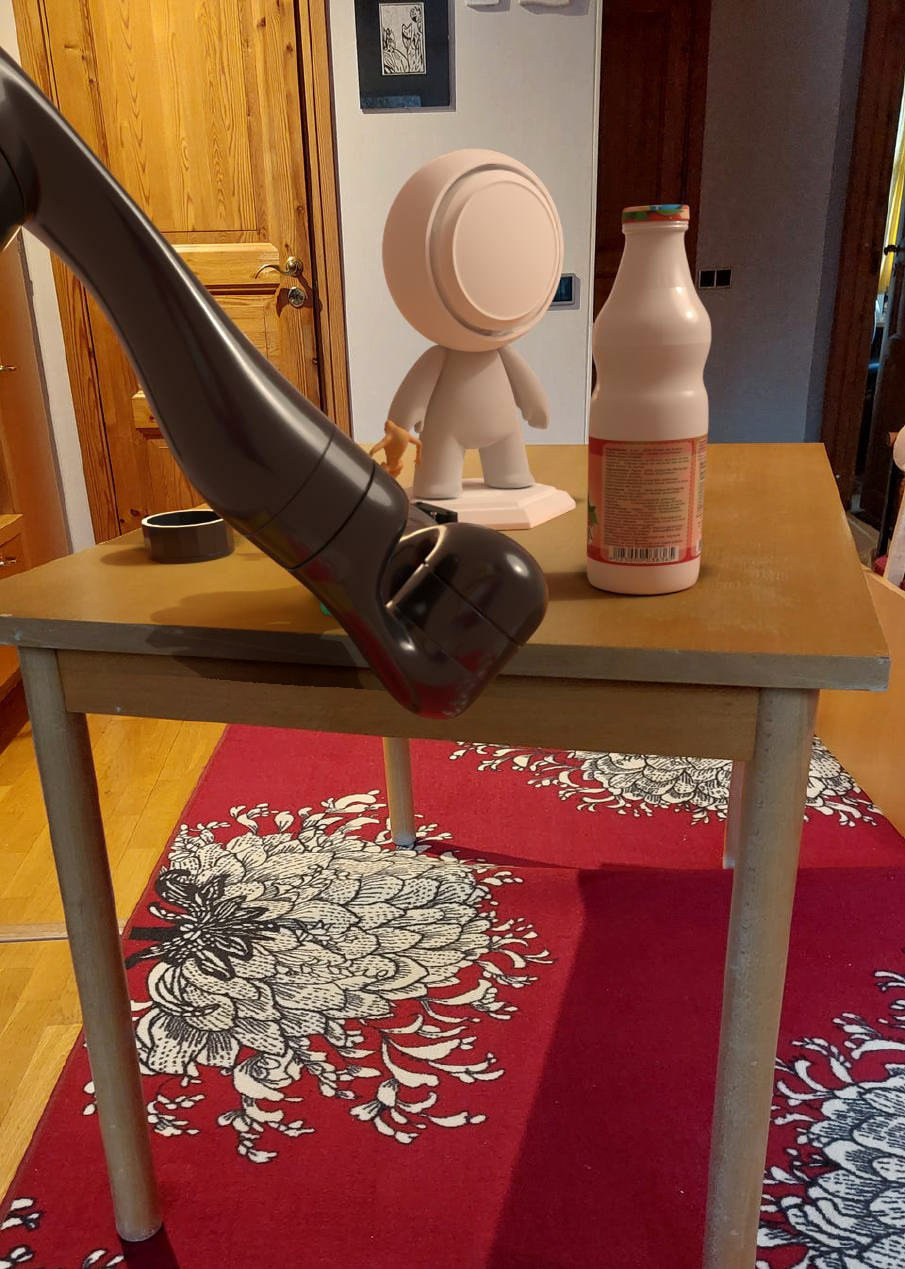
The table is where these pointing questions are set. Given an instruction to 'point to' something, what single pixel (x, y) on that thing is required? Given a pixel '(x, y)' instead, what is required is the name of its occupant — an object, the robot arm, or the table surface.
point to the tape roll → (187, 537)
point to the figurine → (396, 448)
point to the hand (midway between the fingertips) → (345, 514)
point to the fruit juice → (648, 414)
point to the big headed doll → (474, 330)
